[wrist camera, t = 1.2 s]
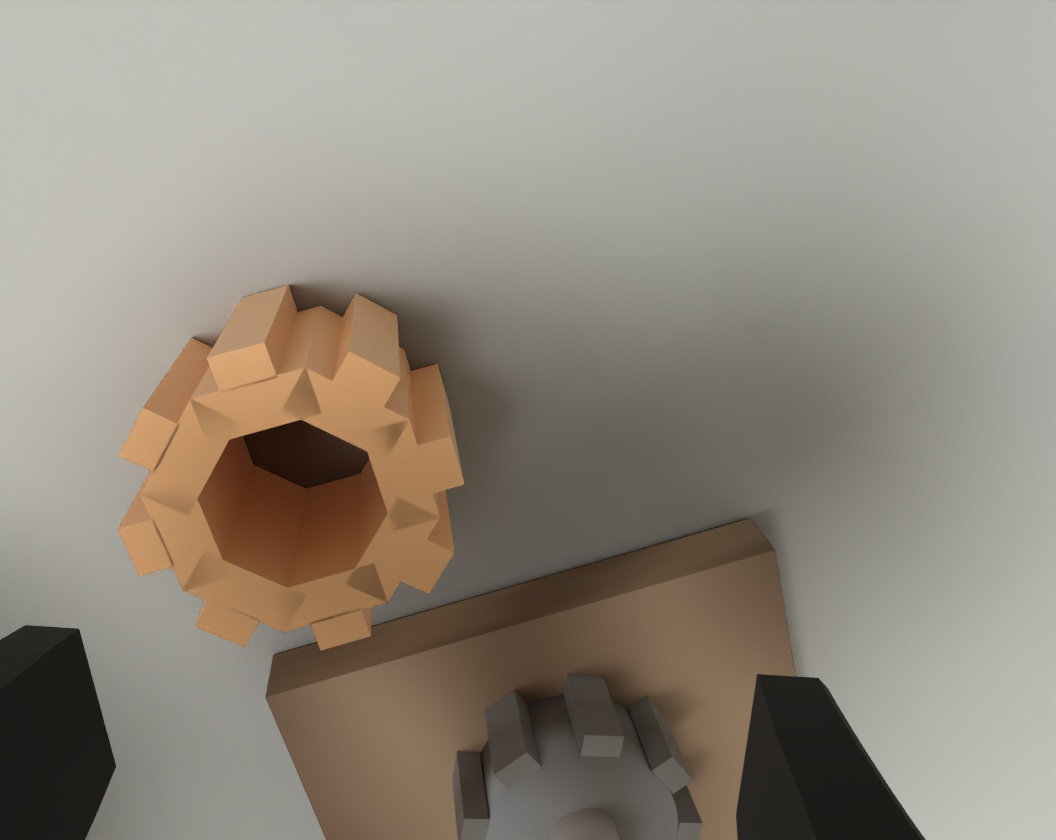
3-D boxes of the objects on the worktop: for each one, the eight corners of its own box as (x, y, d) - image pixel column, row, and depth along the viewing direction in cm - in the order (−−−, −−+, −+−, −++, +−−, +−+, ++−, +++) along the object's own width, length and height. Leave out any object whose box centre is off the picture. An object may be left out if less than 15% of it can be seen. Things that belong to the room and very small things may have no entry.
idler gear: (226, 572, 20) (191, 688, 16) (124, 329, 18) (57, 398, 14) (477, 501, 20) (498, 599, 17) (405, 253, 18) (410, 302, 15)
